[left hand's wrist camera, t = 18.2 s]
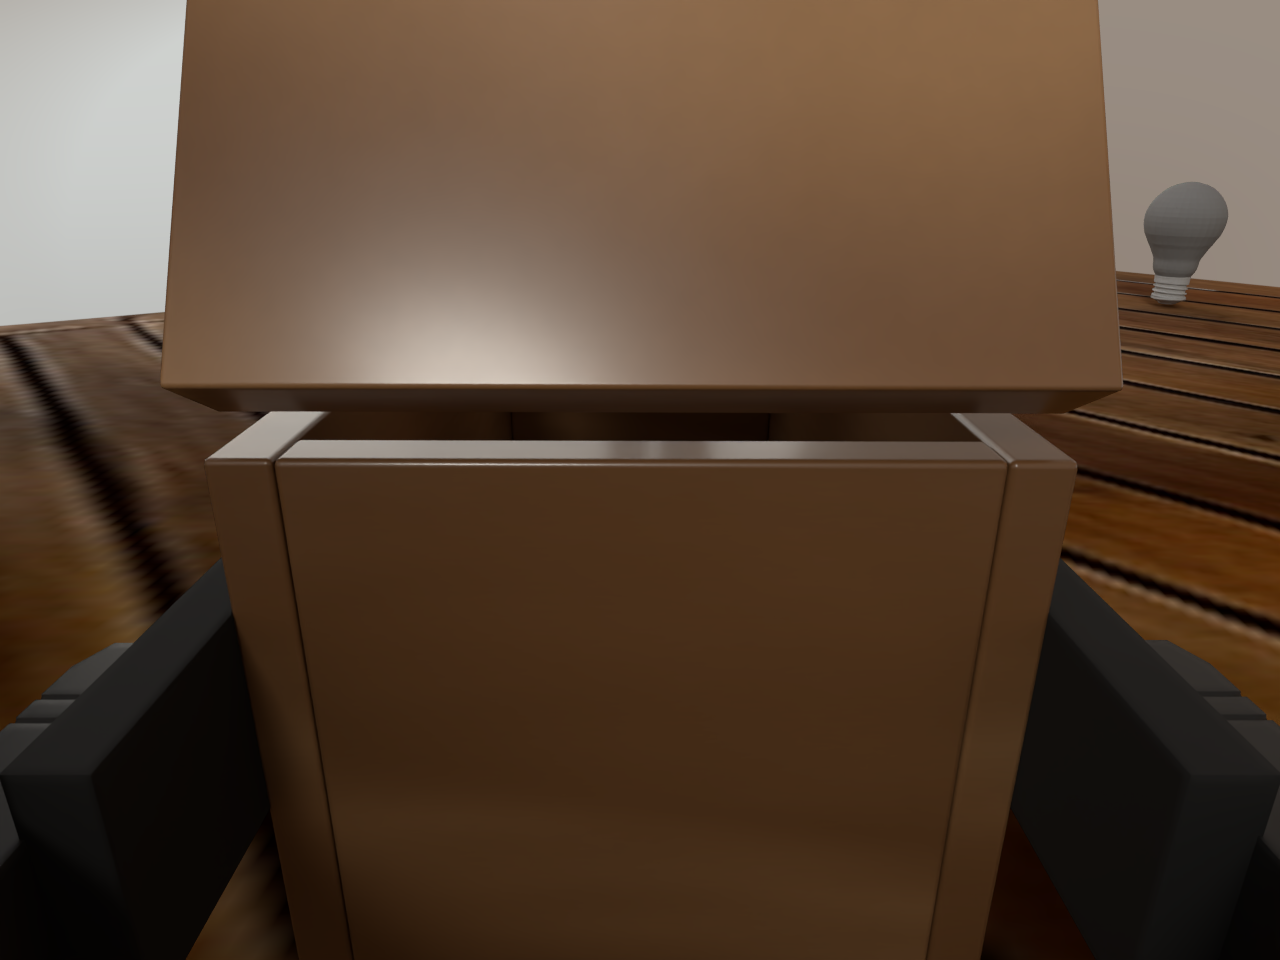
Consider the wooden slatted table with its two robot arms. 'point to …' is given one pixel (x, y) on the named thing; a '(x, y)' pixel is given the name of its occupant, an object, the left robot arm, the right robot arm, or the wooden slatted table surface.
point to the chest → (640, 676)
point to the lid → (642, 207)
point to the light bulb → (1182, 235)
